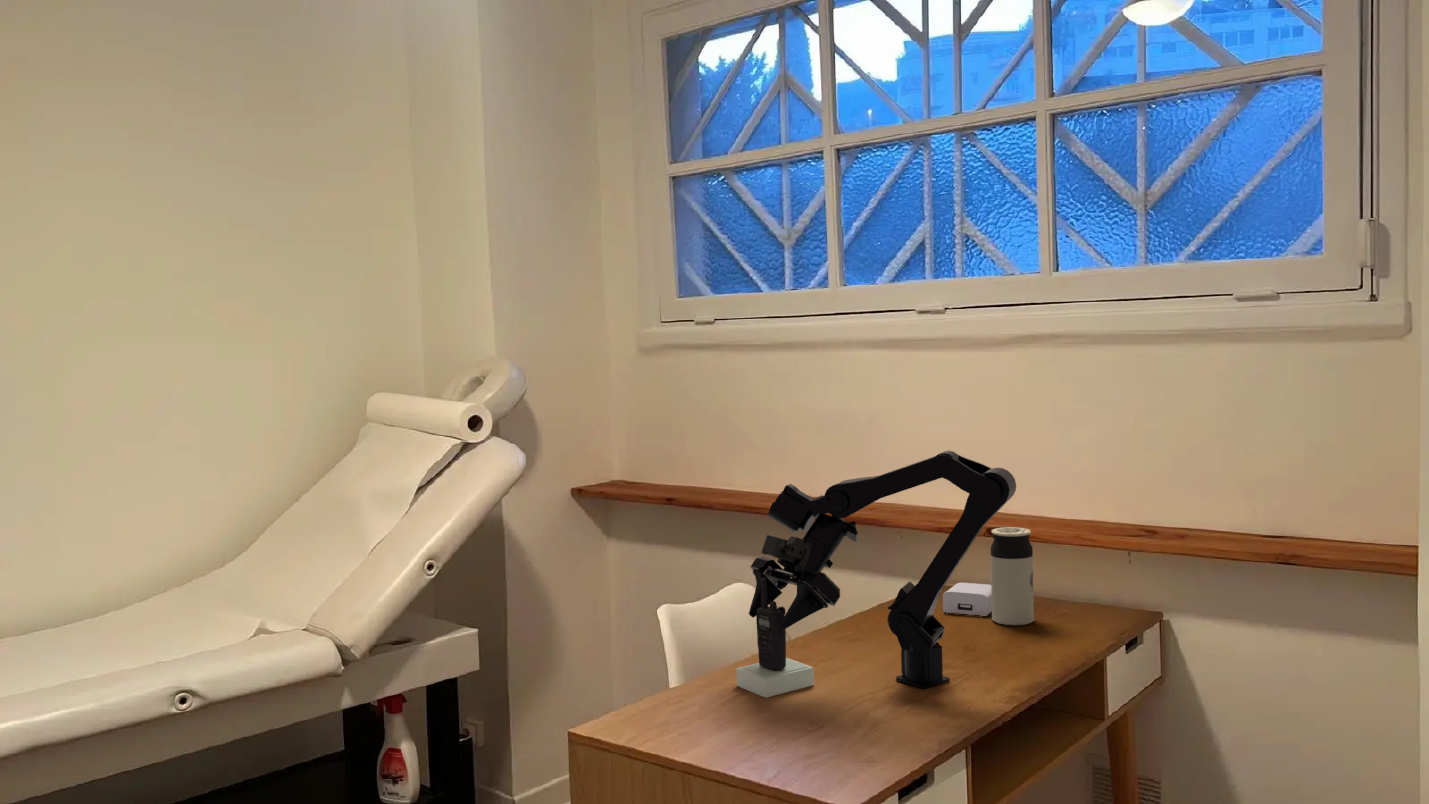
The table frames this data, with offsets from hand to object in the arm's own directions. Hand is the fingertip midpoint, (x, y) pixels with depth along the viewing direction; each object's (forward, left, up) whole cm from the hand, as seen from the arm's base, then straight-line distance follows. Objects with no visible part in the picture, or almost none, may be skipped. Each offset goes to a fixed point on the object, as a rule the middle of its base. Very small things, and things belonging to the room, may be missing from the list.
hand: (766, 621), depth 191 cm
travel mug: (+2, -61, -11) cm, 62 cm away
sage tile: (0, -1, -11) cm, 11 cm away
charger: (+15, -65, -12) cm, 67 cm away
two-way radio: (0, -1, -8) cm, 8 cm away
